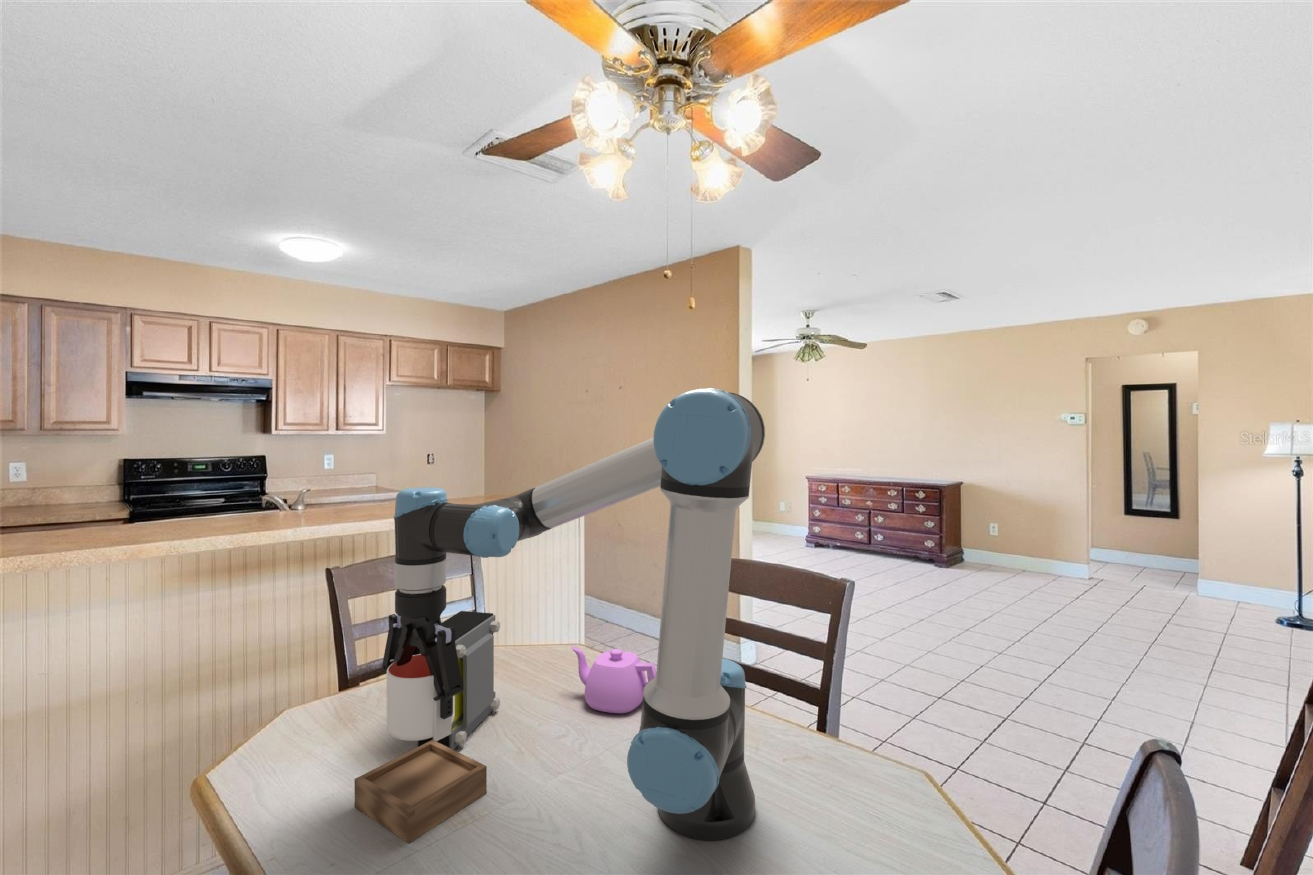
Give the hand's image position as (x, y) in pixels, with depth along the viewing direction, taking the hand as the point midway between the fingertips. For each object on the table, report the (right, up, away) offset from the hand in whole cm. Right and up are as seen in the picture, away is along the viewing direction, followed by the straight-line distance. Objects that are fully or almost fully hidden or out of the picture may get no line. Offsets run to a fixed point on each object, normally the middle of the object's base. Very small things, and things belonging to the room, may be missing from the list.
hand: (421, 726), depth 96 cm
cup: (0, 0, 0) cm, 0 cm away
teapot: (+28, -11, +35) cm, 46 cm away
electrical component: (-2, -11, +23) cm, 26 cm away
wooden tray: (0, -12, 0) cm, 12 cm away
